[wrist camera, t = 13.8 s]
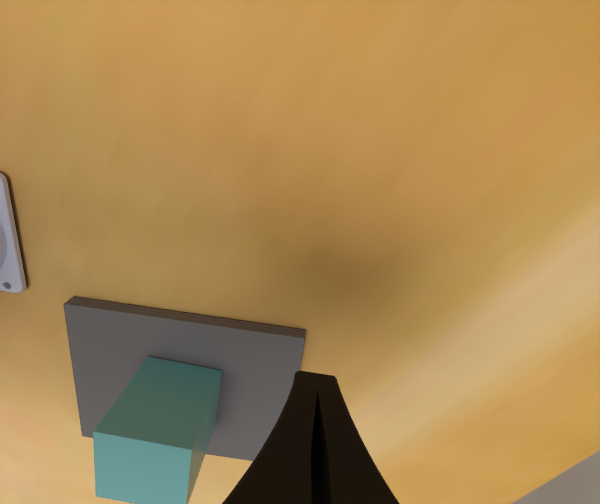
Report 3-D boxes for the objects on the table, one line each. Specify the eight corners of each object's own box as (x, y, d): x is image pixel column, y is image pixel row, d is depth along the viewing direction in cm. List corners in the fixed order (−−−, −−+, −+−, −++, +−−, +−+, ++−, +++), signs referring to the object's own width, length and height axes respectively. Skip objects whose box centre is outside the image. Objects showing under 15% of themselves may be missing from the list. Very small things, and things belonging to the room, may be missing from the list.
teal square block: (146, 412, 25) (95, 496, 19) (148, 356, 23) (93, 431, 17) (215, 425, 25) (184, 512, 19) (222, 370, 23) (191, 449, 17)
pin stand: (90, 425, 27) (24, 512, 21) (73, 296, 23) (-15, 359, 17) (284, 453, 27) (275, 548, 21) (305, 329, 23) (300, 404, 17)
